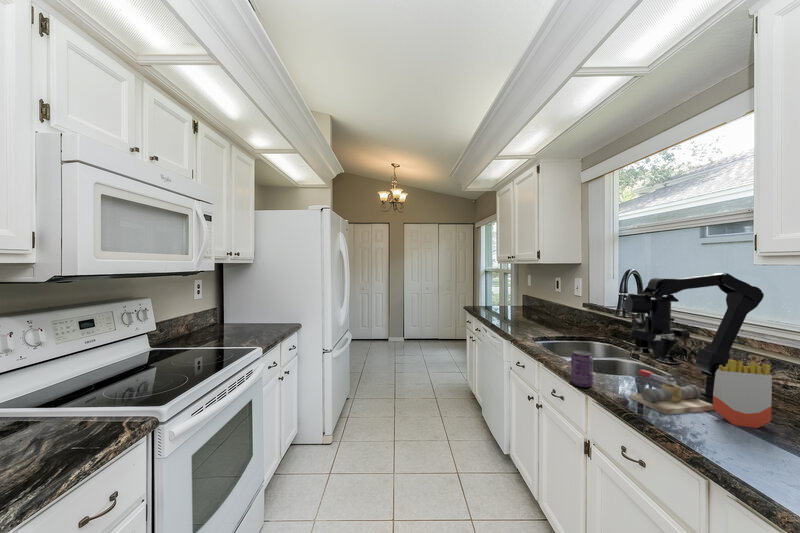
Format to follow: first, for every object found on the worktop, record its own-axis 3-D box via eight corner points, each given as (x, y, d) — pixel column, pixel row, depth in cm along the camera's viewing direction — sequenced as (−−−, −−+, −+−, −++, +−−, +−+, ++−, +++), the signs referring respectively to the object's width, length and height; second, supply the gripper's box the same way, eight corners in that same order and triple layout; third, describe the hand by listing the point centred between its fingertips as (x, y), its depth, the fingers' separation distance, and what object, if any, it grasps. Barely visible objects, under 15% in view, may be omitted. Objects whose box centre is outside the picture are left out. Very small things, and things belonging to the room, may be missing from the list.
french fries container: (711, 416, 97) (712, 355, 97) (758, 422, 94) (759, 359, 94) (721, 423, 93) (722, 359, 93) (771, 429, 90) (772, 363, 90)
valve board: (674, 394, 113) (675, 377, 113) (714, 410, 102) (714, 390, 102) (630, 398, 110) (630, 380, 110) (666, 414, 98) (666, 394, 98)
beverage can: (587, 381, 126) (587, 350, 126) (596, 388, 118) (596, 355, 118) (567, 381, 126) (568, 349, 126) (575, 387, 119) (576, 354, 119)
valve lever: (677, 386, 105) (677, 379, 105) (671, 386, 105) (671, 379, 105) (643, 374, 116) (643, 368, 116) (638, 374, 116) (638, 368, 116)
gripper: (660, 310, 125) (659, 351, 125) (618, 311, 121) (617, 353, 121) (691, 314, 114) (690, 359, 114) (646, 315, 110) (645, 362, 110)
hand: (659, 358), depth 115 cm, fingers closed
